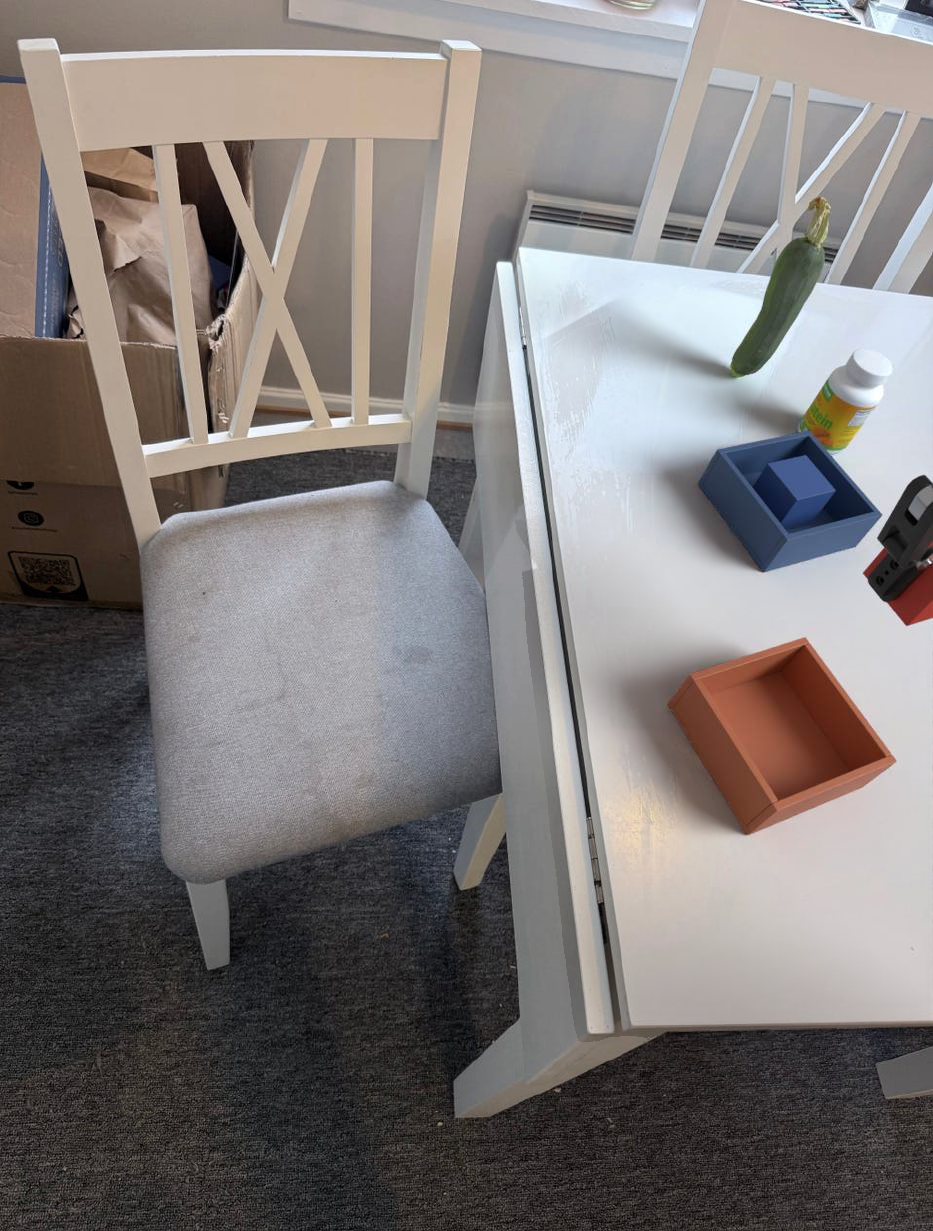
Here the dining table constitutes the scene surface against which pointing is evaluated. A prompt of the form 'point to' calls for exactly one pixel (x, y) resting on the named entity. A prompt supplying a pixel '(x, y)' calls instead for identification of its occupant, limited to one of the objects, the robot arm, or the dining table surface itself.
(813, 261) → the vegetable
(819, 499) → the blue block
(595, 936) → the dining table surface
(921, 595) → the red block
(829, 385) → the supplement bottle
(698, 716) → the terracotta bin
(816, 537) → the blue bin
